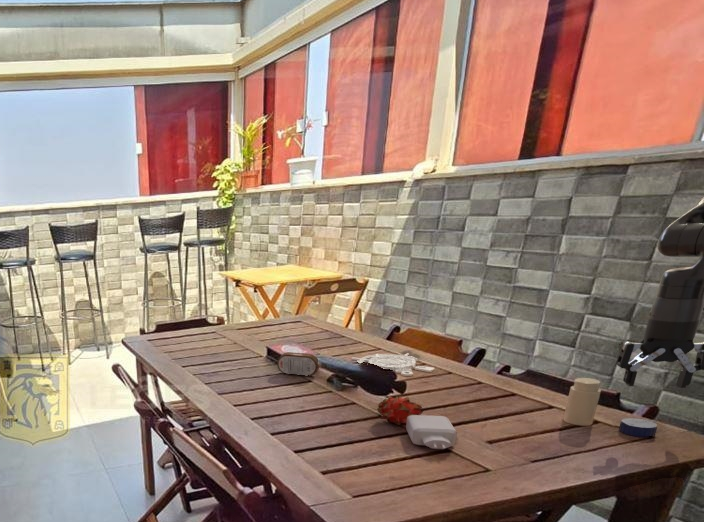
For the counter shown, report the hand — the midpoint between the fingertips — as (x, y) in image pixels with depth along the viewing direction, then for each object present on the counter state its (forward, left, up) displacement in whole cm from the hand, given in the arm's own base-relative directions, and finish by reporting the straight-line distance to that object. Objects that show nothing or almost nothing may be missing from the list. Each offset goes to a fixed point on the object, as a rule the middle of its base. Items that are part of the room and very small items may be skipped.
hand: (654, 386), depth 114 cm
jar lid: (0, -1, -10) cm, 10 cm away
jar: (+3, -11, -12) cm, 17 cm away
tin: (+34, -83, -12) cm, 90 cm away
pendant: (0, -73, -12) cm, 74 cm away
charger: (+43, -19, -12) cm, 48 cm away
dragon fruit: (+39, -33, -12) cm, 52 cm away
